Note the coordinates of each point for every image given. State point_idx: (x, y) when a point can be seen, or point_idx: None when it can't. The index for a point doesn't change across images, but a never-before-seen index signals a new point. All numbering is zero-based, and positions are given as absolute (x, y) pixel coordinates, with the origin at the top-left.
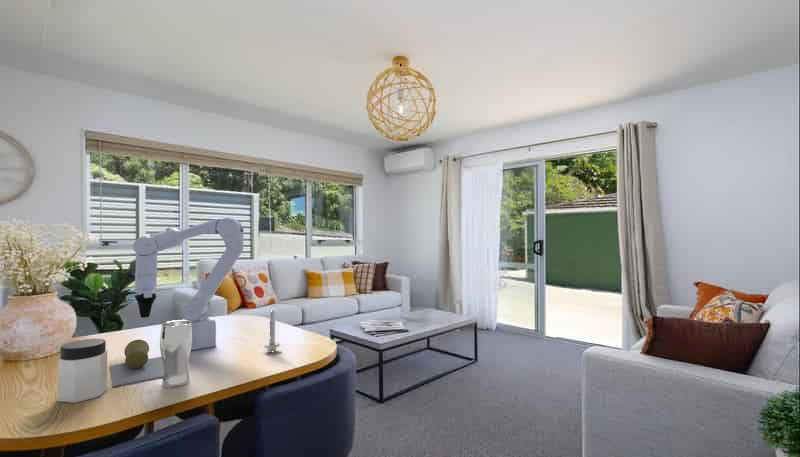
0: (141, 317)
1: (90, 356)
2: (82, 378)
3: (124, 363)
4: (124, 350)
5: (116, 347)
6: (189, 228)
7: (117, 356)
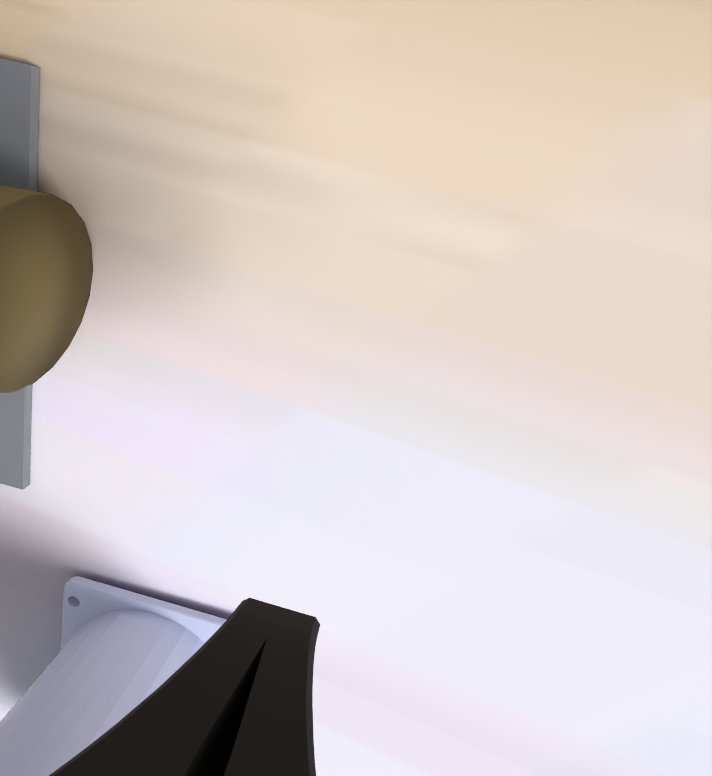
0: (241, 603)
1: None
2: None
3: (10, 171)
4: (29, 194)
5: (683, 296)
6: None
7: (327, 205)
